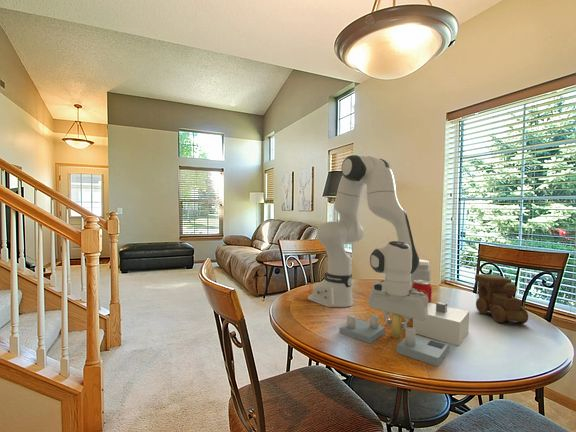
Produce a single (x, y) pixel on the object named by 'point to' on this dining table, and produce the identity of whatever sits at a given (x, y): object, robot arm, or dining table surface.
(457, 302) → the dining table surface
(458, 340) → the cover
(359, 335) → the board
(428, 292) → the soda can
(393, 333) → the peg
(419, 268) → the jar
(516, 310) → the wooden toy train
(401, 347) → the board
